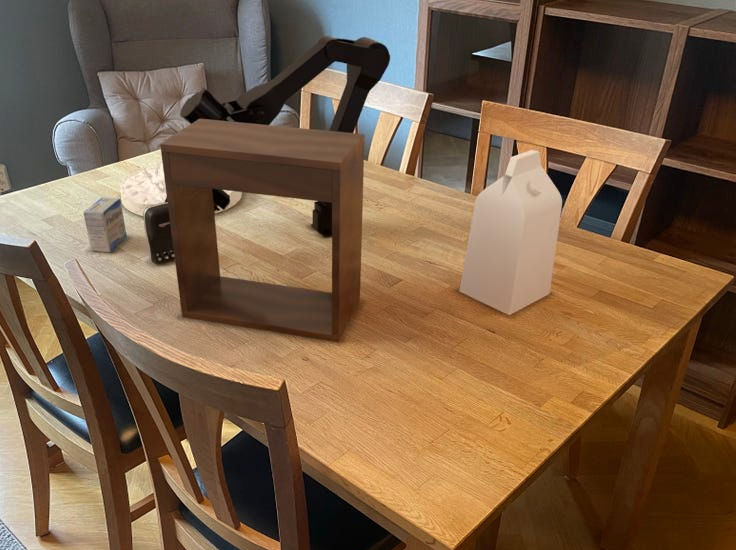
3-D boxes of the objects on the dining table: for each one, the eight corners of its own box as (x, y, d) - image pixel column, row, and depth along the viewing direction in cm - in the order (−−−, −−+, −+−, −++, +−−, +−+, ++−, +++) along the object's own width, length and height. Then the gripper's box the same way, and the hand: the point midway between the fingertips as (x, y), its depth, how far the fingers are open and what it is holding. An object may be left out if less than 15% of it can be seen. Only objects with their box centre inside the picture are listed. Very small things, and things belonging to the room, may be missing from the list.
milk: (500, 271, 144) (519, 138, 129) (549, 293, 136) (576, 155, 122) (459, 291, 137) (474, 153, 122) (509, 315, 130) (531, 171, 115)
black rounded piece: (156, 268, 144) (148, 213, 137) (148, 261, 146) (140, 206, 140) (189, 259, 147) (182, 205, 141) (180, 252, 150) (174, 198, 143)
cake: (96, 208, 168) (89, 167, 163) (165, 169, 190) (160, 132, 184) (202, 228, 160) (198, 186, 154) (262, 185, 181) (260, 146, 176)
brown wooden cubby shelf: (214, 280, 140) (199, 118, 123) (359, 302, 133) (364, 134, 116) (182, 316, 129) (159, 143, 112) (338, 342, 122) (340, 162, 105)
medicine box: (110, 253, 149) (103, 213, 144) (90, 251, 150) (82, 211, 145) (127, 237, 156) (121, 198, 151) (107, 235, 156) (100, 196, 152)
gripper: (174, 112, 142) (125, 177, 144) (208, 139, 129) (154, 210, 130) (215, 147, 150) (169, 208, 151) (252, 175, 136) (201, 242, 138)
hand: (172, 216), depth 143 cm, fingers open, 9 cm apart
